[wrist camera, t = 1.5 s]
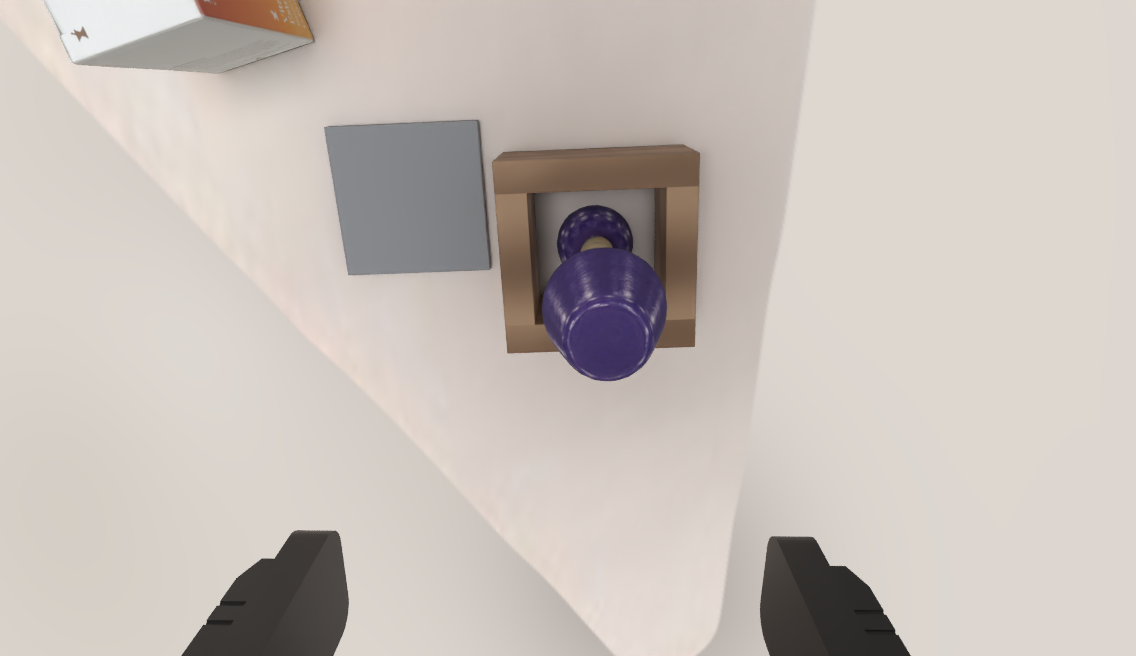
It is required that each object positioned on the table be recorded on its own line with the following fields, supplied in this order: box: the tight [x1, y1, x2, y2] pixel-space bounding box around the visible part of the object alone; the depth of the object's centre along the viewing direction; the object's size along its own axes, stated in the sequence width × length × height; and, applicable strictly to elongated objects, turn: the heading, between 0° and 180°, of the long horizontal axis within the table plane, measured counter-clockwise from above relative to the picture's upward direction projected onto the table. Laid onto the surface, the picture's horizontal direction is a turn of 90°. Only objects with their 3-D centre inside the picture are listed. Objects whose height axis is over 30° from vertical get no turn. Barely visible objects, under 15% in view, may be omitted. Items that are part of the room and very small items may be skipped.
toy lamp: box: [542, 205, 667, 381], centre depth 29 cm, size 5×5×17 cm
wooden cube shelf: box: [492, 145, 700, 353], centre depth 34 cm, size 10×10×5 cm
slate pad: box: [324, 120, 491, 275], centre depth 36 cm, size 8×8×1 cm
